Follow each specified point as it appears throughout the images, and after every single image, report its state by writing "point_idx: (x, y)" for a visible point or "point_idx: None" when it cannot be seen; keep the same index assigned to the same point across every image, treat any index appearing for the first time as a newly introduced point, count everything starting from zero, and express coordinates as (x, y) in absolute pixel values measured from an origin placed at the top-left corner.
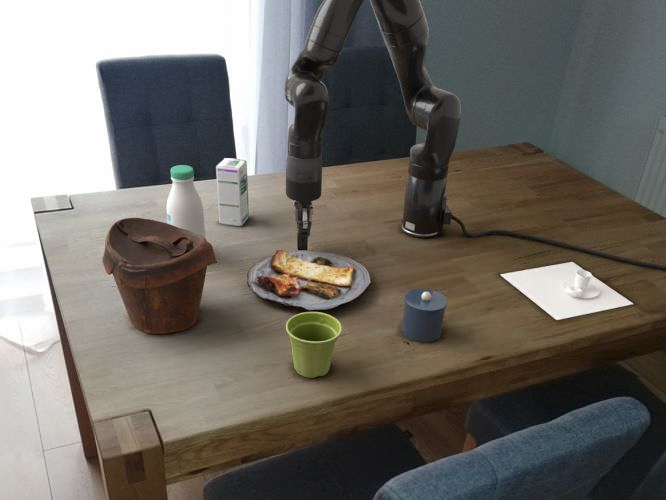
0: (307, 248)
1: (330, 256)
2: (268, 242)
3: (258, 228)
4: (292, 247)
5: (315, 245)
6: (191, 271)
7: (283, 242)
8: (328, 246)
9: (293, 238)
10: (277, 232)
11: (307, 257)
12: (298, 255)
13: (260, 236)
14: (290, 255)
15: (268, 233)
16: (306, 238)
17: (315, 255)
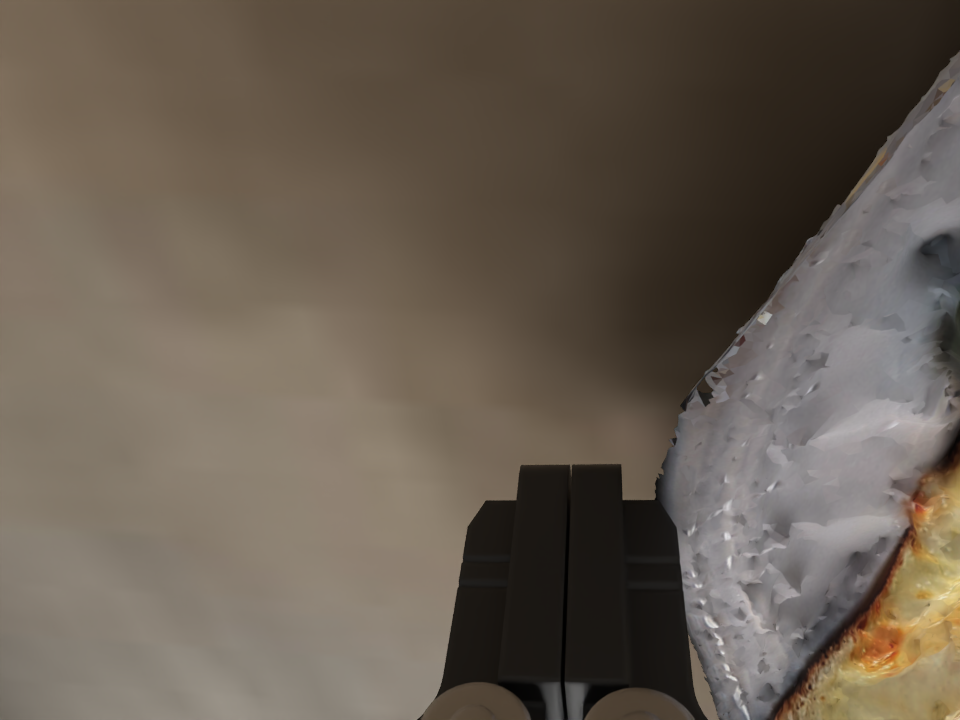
0: (620, 476)
1: (943, 106)
2: (286, 673)
3: (27, 709)
4: (349, 508)
5: (217, 259)
6: None
7: (246, 573)
8: (191, 60)
9: (110, 486)
10: (34, 601)
11: (817, 446)
12: (779, 557)
13: (181, 710)
14: (786, 637)
15: (92, 660)
16: (631, 645)
17: (821, 360)
